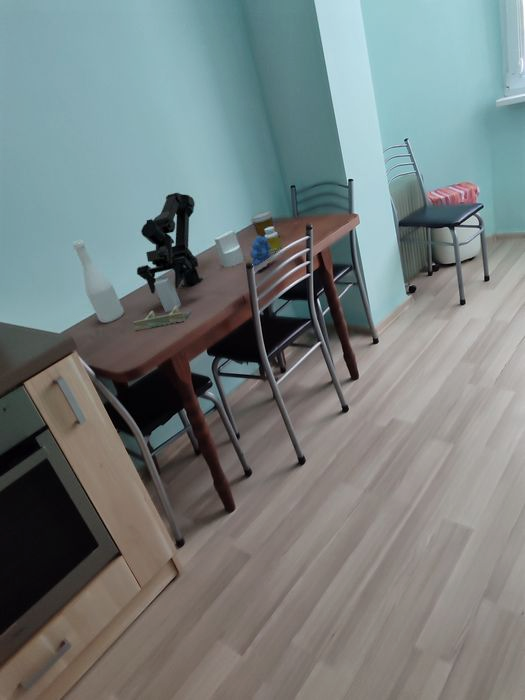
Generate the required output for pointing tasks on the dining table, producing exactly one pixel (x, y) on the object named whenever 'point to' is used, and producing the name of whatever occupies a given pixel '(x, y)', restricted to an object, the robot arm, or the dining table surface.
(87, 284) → the wine bottle
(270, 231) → the supplement bottle
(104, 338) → the dining table surface
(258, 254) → the grapes
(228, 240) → the cylinder with rectangular tab
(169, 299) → the grey block
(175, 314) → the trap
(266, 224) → the disposable coffee cup
